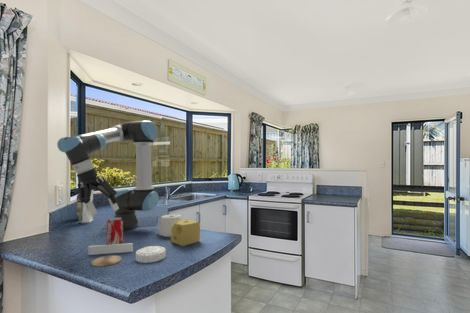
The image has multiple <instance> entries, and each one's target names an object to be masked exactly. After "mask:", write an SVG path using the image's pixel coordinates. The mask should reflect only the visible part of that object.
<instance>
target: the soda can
mask: <svg viewBox="0 0 470 313" xmlns="http://www.w3.org/2000/svg"><path fill="white" fill-rule="evenodd" d="M111 244H124V230H123V220H122V218H121V217H115V216H114V217H109V218H107V221H106V245H111Z"/></svg>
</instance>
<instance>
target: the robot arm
mask: <svg viewBox="0 0 470 313" xmlns="http://www.w3.org/2000/svg"><path fill="white" fill-rule="evenodd" d="M157 138H158V129H157V126H156V125H155V123H154V122H153V121H151V120H135V121H134V120H133V121H127V122H123V123H120V124H119V123H118V124H117V125H112V126H111V127H109V128H106V129H100V130H97V131H92V132H87V133H82V134H79V135H78V134H77V135H73V136H64V137H61V138H59V139H58V141H57V143H56V144H57V149H58V150H59V151H60V152H62V153H64V154H65V155H66V157H67V159H68V161H69V163H70V164H71V167H72V168H73V171H74V172H75V174H76V177H77V178H78V181H79V183H77V187H78V192H79V193H80V202H81V203H85V204H86V206H87V208H88V209H89V210H90V212H91V214H92V216H93V217H94V216H95V215H96V214H98V210H97V209H96V208H97V207H95V205H94V201H93V202H92V201H90V200H91V199H90V196H91V190H94V191H95V190H96V191H99V192H100V193H102V194H103V195H104V196H105V197H107V200H108V202H109V205H110V206H111V209H112V211H113V212H115V213H114V217H121V218H122V220H123V231H124V230H125V231H126V230H133V229H135V228H138V227H139V220H138V218H137V214H136V212H137V211H139V212H141V211H142V212H151V211H153V210H155V208H157V205H158V203H159V200H160V199H159V194H158V192H157V191H155V187H154V186H153V185H152V183H153V182H152V146H153V145H154V140H156V139H157ZM122 141H123V142H124V141H127V142H129V141H132V143H133V145H135V155H136V156H135V157H136V158H135V160H136V161H135V163H136V166H135V169H136V170H135V174H136V177H135V178H136V186H135V187H134V188H129V189H128V188H127V189H122V190H117V191H116V189H114V188H113V186H112V185H110V184H109V182H107V181H106V179H105V177H104V176H101V177H98V176H97V175H98V173H97V171H96V169H95V167H94V164H93V162H92V160H91V158H90V156H89V155H90V154H93V153H95V152H97V151H98V152H99V151H101V150H103V149H104V148H105V147H106V145H107V144H108V143H112V142H116V143H117V142H122ZM79 193H78V194H79Z"/></svg>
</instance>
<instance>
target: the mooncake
mask: <svg viewBox="0 0 470 313" xmlns="http://www.w3.org/2000/svg"><path fill="white" fill-rule="evenodd" d="M166 256H167V249H166V248H165V247H163V246H161V245H160V246H159V245H148V246H143V247H142V248H139V249H138V250H136V252H135V261H136V262H138V263H143V264H144V263H145V264H148V263H157V262H159V261H161V260H164V259H165V258H166Z"/></svg>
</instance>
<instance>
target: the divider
mask: <svg viewBox="0 0 470 313" xmlns="http://www.w3.org/2000/svg"><path fill="white" fill-rule="evenodd" d="M133 252H134V243H133V242H129V243H128V242H127V243H123V244H111V245H107V244H98V245H96V244H95V245H89V246H88V256H92V255H106V254H107V255H108V254H118V253H121V254H122V253H133Z"/></svg>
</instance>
